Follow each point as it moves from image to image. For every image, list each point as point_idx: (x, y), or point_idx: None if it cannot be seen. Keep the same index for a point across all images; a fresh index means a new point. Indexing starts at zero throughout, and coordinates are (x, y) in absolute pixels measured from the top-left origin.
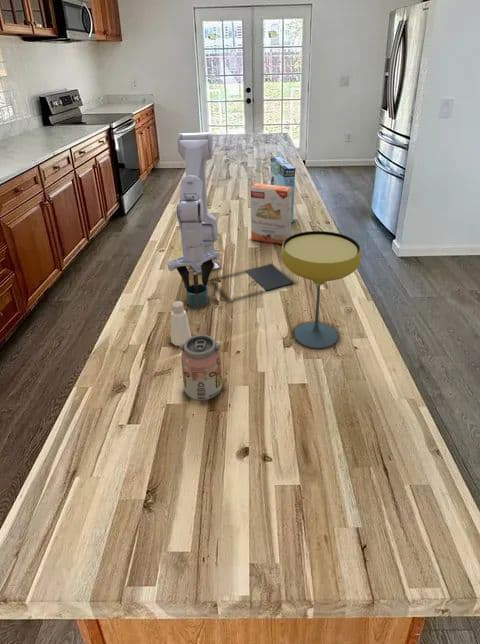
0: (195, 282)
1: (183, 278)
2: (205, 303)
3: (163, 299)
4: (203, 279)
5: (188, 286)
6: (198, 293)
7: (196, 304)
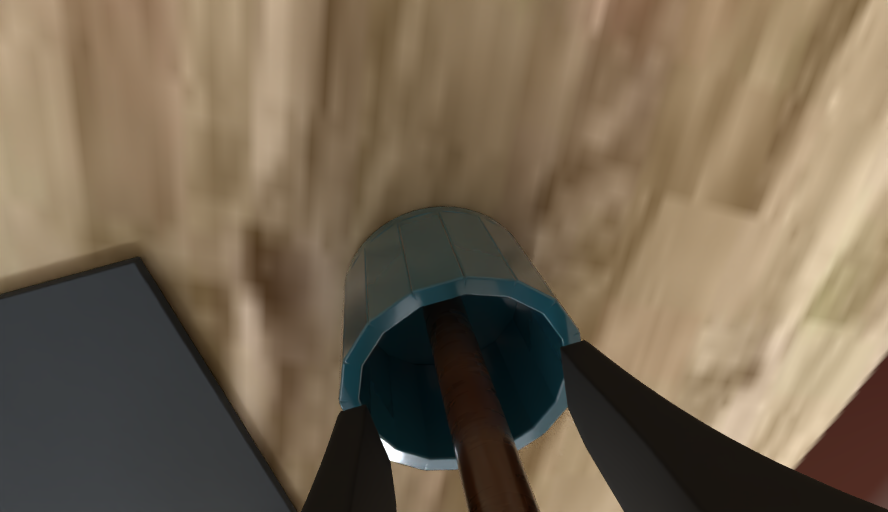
0: (501, 444)
1: (801, 475)
2: (374, 241)
3: (669, 363)
4: (381, 500)
5: (604, 376)
6: (441, 339)
7: (466, 222)
